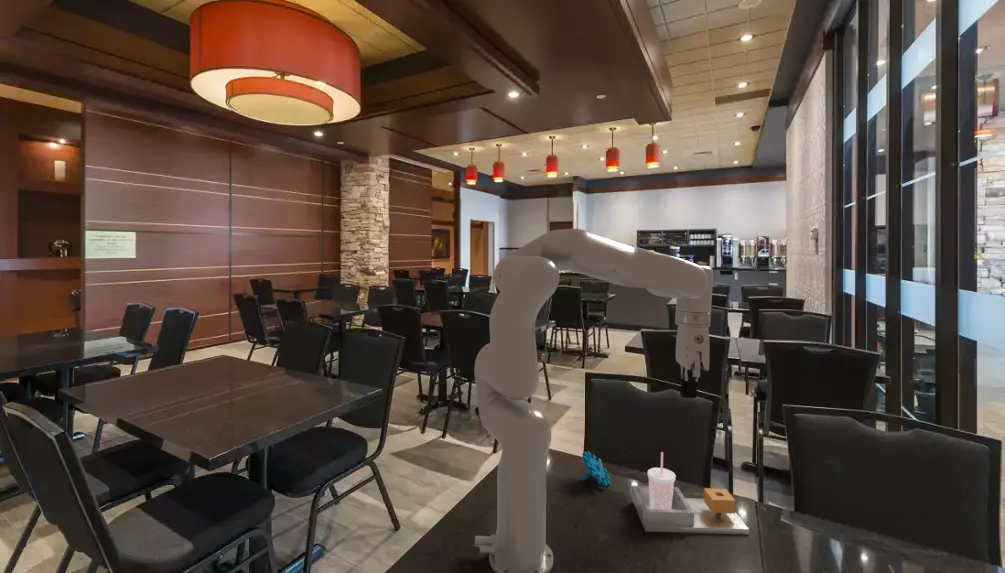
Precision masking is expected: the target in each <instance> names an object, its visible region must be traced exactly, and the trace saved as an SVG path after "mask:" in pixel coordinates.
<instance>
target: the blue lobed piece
mask: <svg viewBox="0 0 1005 573" xmlns="http://www.w3.org/2000/svg"><path fill="white" fill-rule="evenodd" d="M581 459H582V461H583V462H584V466H585V468H586V469H587V470H588V471H587V473H585V474H584V475H583V476H581V480H582V481H583V482H585V481H586V480H587V479H589V478H590V477H593V478H594V477H596V482H597V483H598V484H602V486H603V487H607V486H610V485H611V481H610V480H611V477H610V476H609V475H608V470H607V469H606V468H605V467H603V463H602V459H601V458H598V459H597V456H596V455H595V454H592V453H591V452H590V451H588V450H586V451H584V452H583V453H582V458H581Z"/></svg>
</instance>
